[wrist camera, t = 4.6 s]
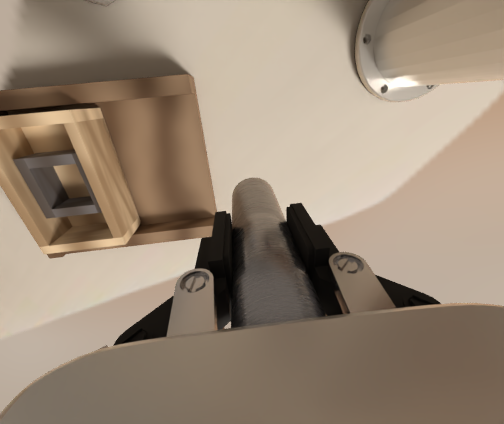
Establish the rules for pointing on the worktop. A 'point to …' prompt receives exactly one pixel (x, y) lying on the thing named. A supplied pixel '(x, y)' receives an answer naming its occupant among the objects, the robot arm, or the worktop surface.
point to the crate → (66, 180)
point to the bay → (144, 148)
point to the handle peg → (266, 262)
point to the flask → (101, 2)
